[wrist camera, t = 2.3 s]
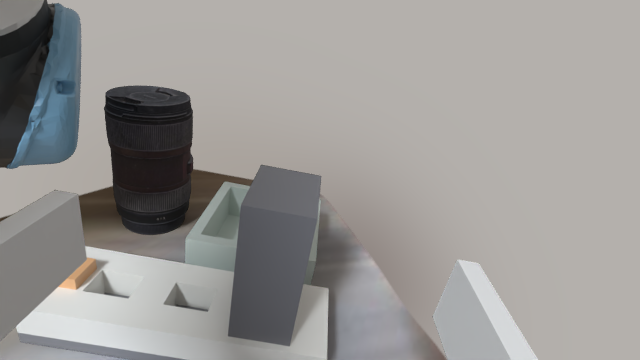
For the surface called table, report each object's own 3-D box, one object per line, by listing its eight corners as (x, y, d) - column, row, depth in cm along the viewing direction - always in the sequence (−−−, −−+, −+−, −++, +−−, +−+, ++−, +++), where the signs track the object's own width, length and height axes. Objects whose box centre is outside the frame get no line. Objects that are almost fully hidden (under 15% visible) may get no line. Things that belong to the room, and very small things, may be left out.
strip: (20, 342, 24) (7, 296, 23) (85, 276, 31) (79, 235, 29) (318, 389, 25) (329, 349, 24) (321, 316, 32) (330, 279, 30)
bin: (184, 280, 32) (185, 238, 30) (222, 215, 43) (224, 181, 41) (306, 301, 33) (316, 261, 31) (313, 232, 44) (320, 199, 42)
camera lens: (148, 194, 44) (144, 80, 38) (203, 212, 43) (208, 97, 37) (96, 225, 37) (80, 89, 31) (160, 247, 36) (158, 111, 30)
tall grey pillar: (225, 357, 25) (240, 205, 19) (245, 297, 30) (261, 164, 25) (285, 367, 25) (317, 218, 20) (294, 305, 31) (321, 176, 25)
